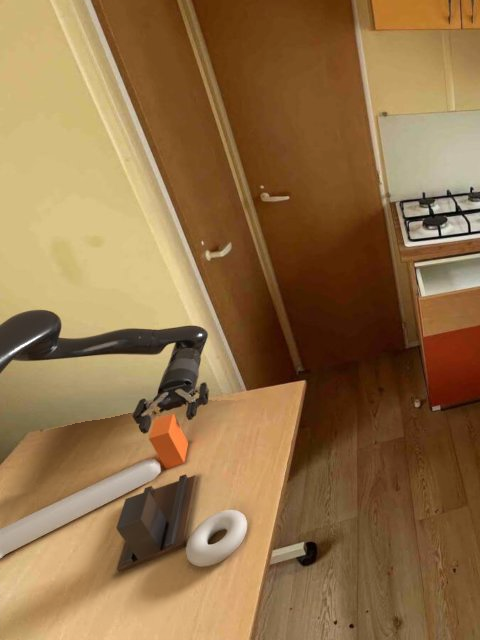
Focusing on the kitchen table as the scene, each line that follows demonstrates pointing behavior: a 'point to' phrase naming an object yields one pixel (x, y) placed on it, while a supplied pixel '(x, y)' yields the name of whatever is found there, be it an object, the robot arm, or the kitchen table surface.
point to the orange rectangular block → (168, 441)
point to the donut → (212, 554)
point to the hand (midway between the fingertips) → (167, 423)
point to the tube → (76, 505)
